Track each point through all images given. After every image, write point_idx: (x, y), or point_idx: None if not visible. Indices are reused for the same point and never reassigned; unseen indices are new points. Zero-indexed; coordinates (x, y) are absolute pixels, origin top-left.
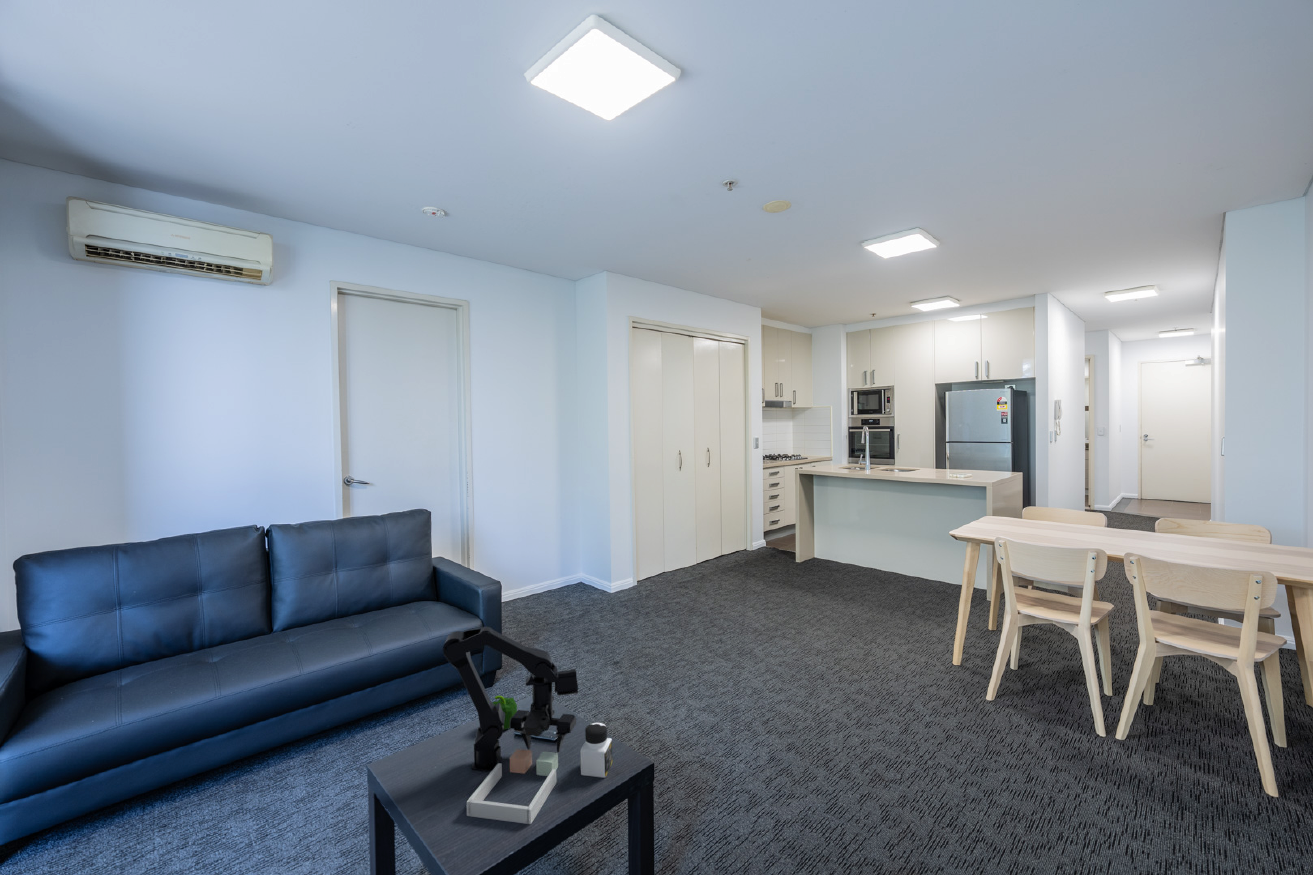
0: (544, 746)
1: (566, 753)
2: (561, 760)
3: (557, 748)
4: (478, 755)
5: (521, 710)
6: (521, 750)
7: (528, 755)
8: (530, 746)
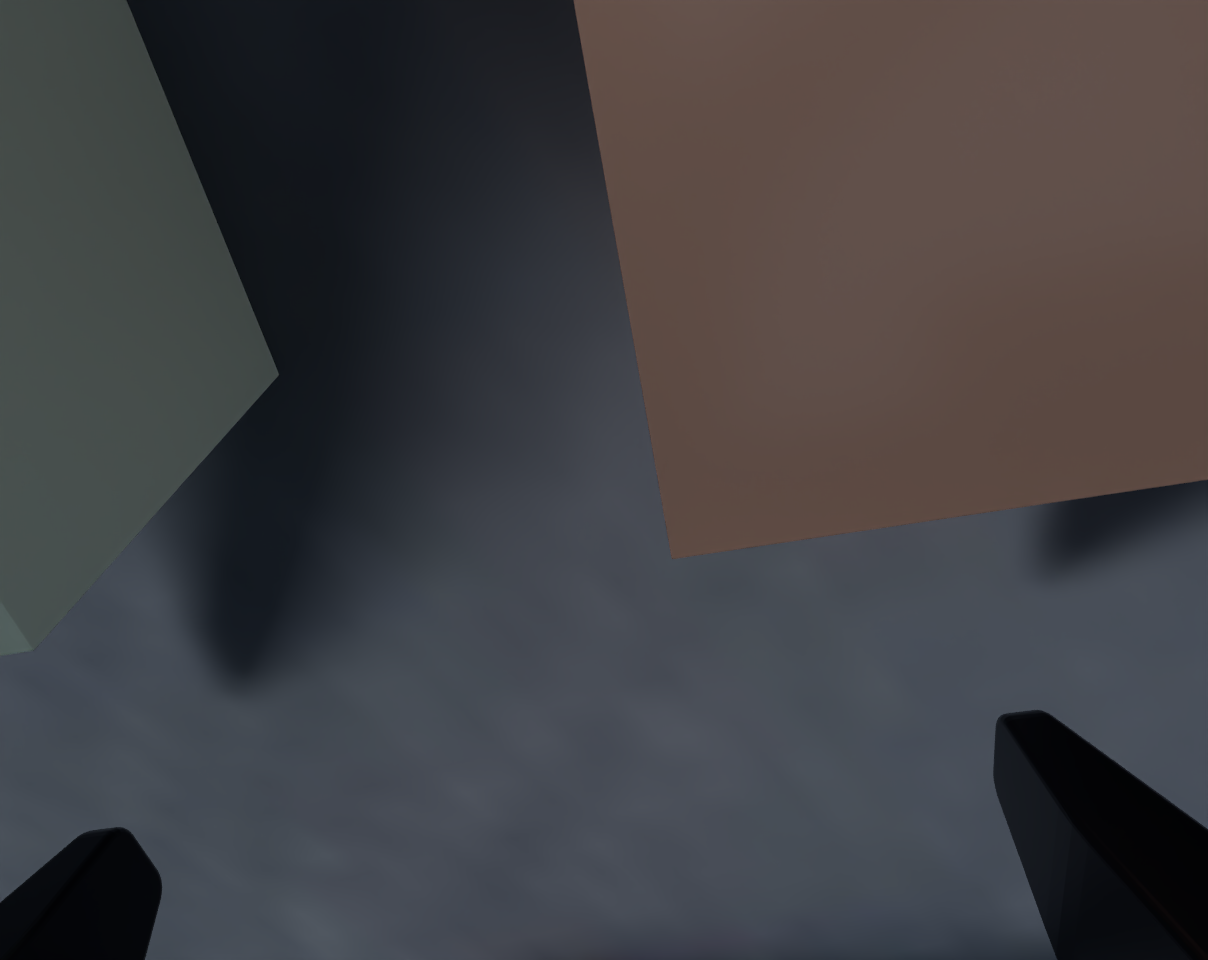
0: (738, 906)
1: None
2: (16, 669)
3: (7, 934)
4: None
5: None
6: None
7: (602, 138)
8: (1006, 817)
